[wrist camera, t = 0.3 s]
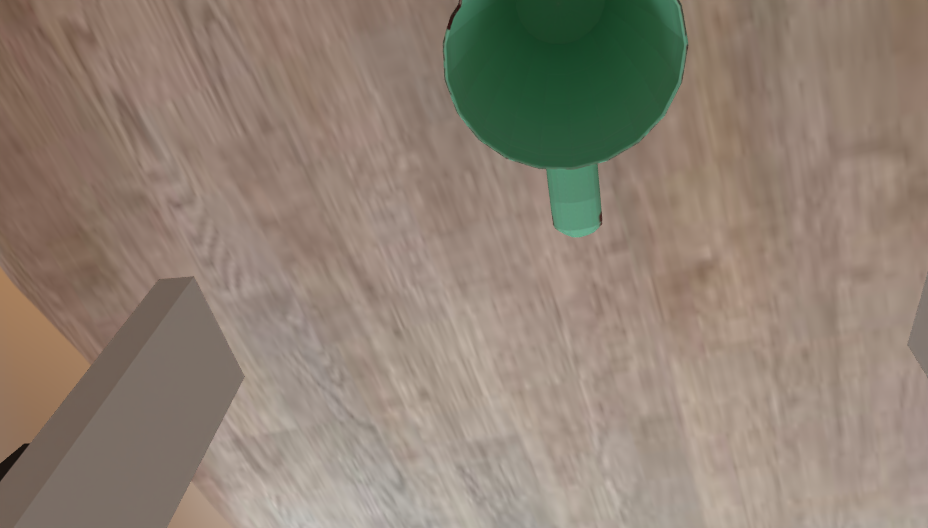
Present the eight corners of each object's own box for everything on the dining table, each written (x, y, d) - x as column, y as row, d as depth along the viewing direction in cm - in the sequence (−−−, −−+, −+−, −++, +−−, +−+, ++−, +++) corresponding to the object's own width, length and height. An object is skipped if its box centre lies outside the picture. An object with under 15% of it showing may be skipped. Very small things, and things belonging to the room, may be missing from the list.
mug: (450, -87, 33) (417, -45, 25) (654, -128, 31) (688, -96, 23) (497, 172, 41) (484, 267, 33) (660, 153, 39) (688, 248, 31)
